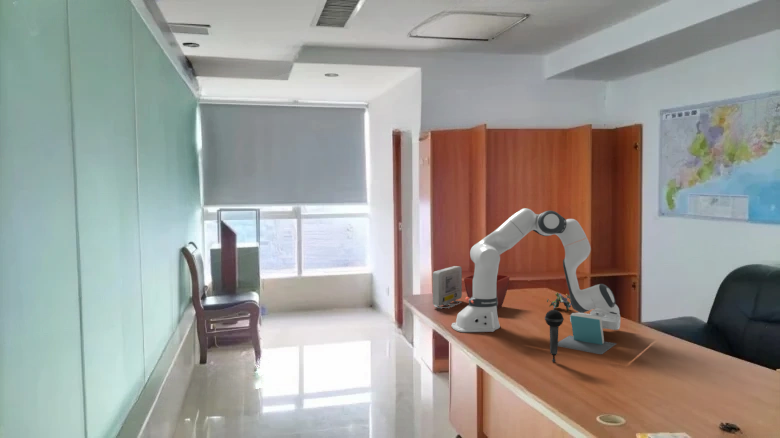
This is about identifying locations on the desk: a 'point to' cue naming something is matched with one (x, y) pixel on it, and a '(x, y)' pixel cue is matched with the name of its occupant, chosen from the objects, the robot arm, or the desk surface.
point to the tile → (587, 328)
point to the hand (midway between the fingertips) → (588, 324)
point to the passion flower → (560, 299)
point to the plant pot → (500, 287)
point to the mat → (585, 345)
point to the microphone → (554, 329)
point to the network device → (447, 286)
